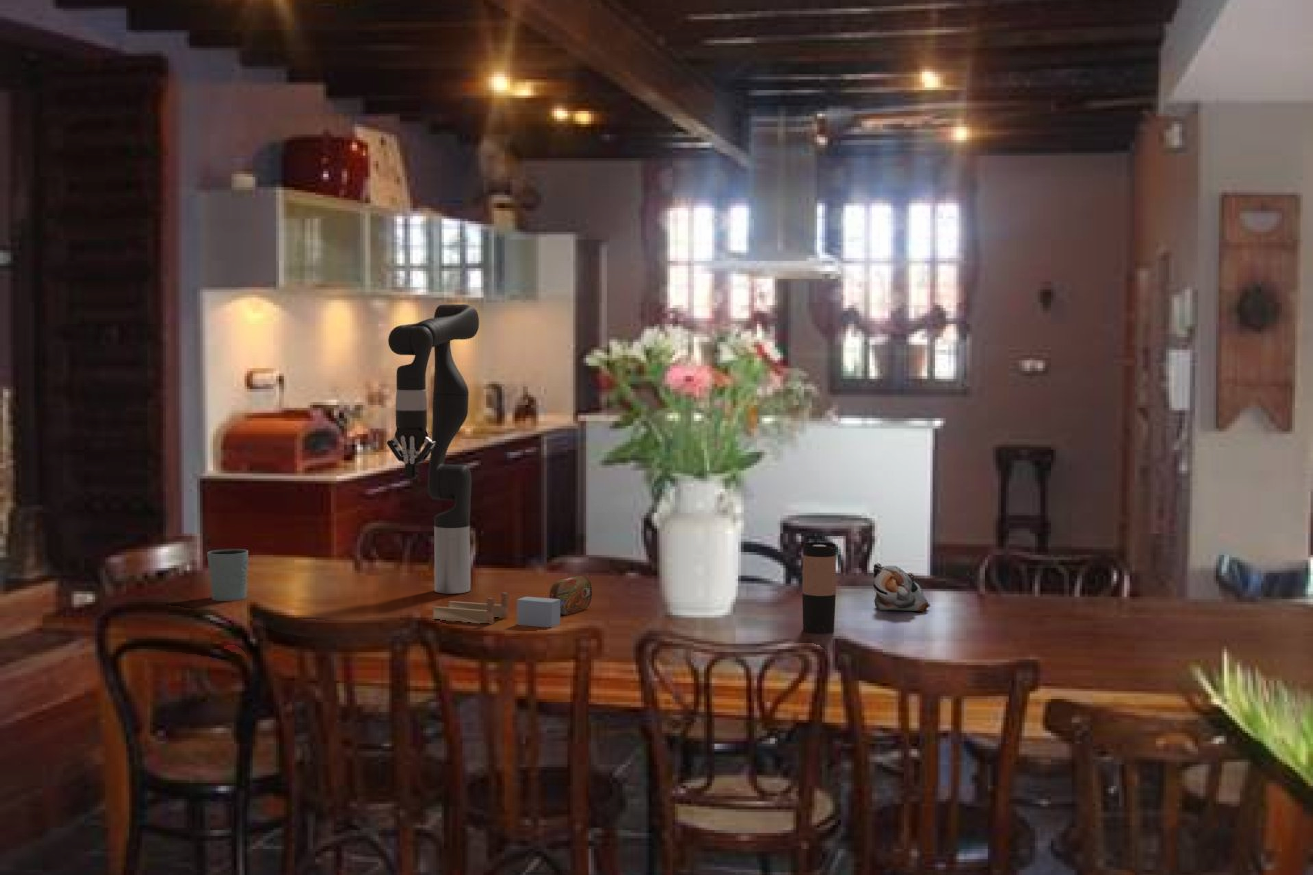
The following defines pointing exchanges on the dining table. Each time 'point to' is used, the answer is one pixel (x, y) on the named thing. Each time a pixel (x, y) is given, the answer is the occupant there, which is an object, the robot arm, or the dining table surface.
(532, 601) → the block
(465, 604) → the chute
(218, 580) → the grey tapered cup
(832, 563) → the travel mug
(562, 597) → the tin
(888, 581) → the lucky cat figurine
